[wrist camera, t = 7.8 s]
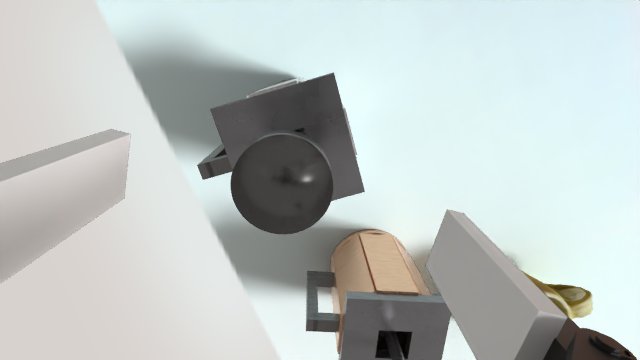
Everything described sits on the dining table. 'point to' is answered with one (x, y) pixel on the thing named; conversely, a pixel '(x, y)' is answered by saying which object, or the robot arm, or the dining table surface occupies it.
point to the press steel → (289, 127)
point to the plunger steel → (282, 182)
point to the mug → (567, 298)
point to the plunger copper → (392, 343)
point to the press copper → (377, 300)
